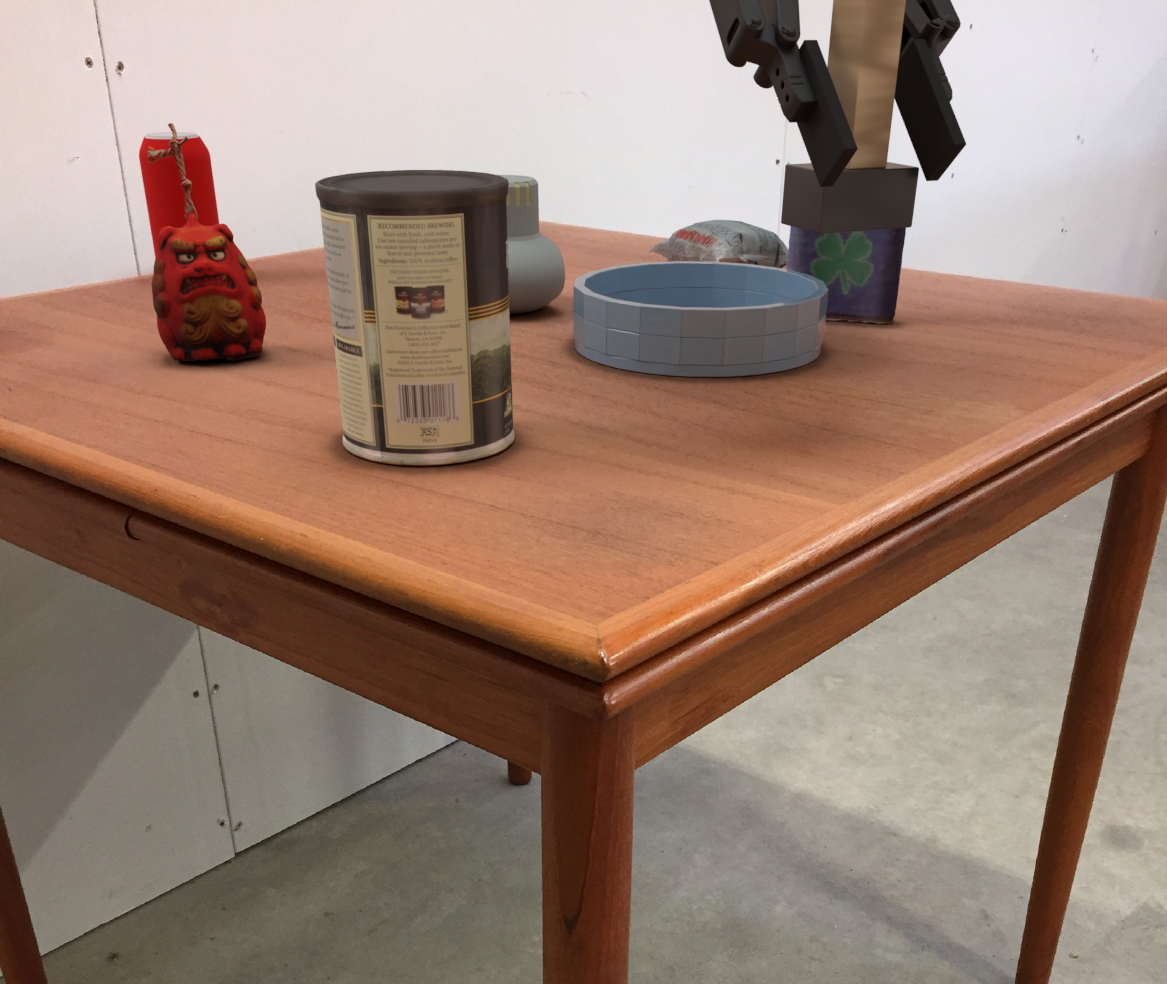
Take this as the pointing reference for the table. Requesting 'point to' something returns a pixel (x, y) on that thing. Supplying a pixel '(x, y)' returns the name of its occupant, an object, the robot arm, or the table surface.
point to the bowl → (699, 318)
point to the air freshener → (530, 250)
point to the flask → (852, 270)
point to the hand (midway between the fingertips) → (893, 164)
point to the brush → (859, 129)
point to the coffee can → (420, 313)
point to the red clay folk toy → (204, 286)
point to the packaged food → (724, 244)
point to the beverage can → (177, 183)
